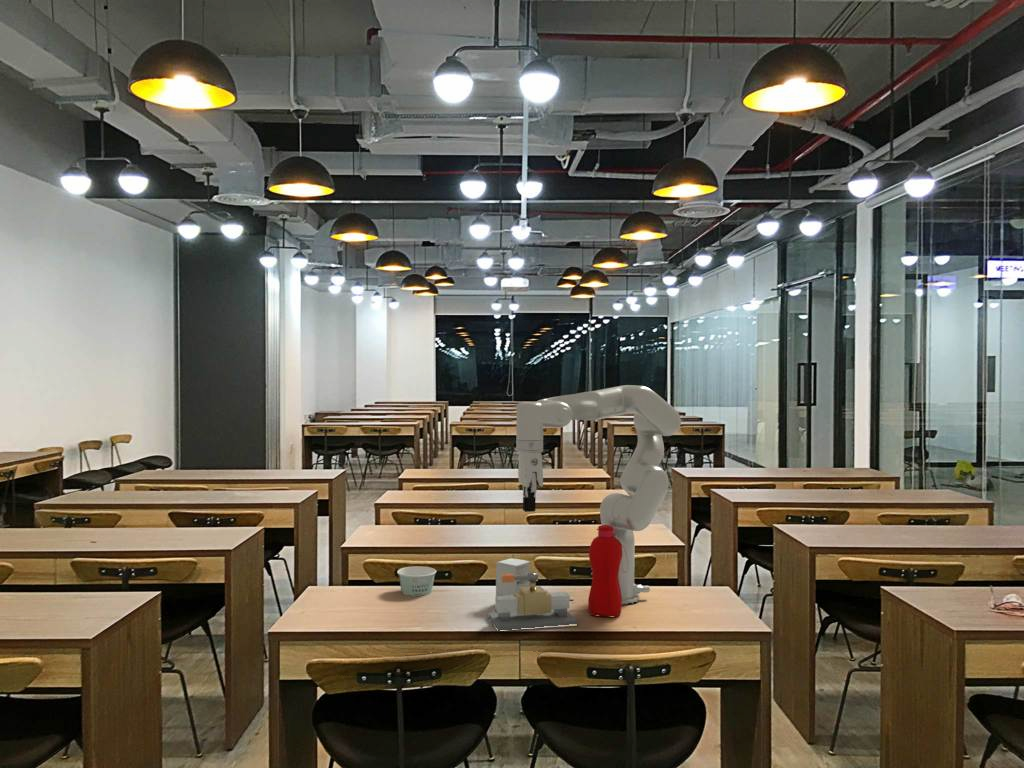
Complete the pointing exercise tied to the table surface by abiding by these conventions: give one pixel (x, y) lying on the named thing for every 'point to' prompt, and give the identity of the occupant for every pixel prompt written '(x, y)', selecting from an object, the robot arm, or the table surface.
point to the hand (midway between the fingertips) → (529, 510)
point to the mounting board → (531, 620)
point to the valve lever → (519, 577)
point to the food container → (416, 580)
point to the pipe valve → (532, 602)
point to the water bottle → (605, 573)
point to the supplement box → (517, 569)
